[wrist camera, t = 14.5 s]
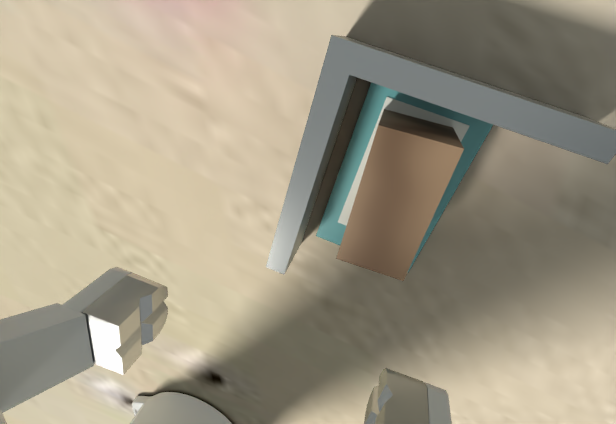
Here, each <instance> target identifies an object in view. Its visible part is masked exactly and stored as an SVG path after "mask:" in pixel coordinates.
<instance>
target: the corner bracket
mask: <svg viewBox="0 0 616 424" xmlns="http://www.w3.org/2000/svg"><path fill="white" fill-rule="evenodd" d="M357 78H360V79H363V80H366V81H369V82H371V85H370V88H369V90H368V93H367V96H366V99H365V101H364V104H363V107H362V110H361V112H360V115H359V118H358V121H357V124H356V126H355V129H354V132H353V135H352V137H351V140H350V143H349V146H348V148H347V151H346V154H345V157H344V160H343V162H342V165H341V168H340V171H339V173H338V176H337V179H336V182H335V184H334V187H333V190H332V193H331V196H330V198H329V201H328V204H327V207H326V209H325V212H324V215H323V218H322V220H321V223H320V226H319V229H318V232H317V234H316V236H318V237H320V238H323V239H325V240H328V241H330V242H333V243H335V244H338V245H341V242H342V239H343V235H344V232H345V229H346V226H347V223H348V220H349V216H350V213H351V210H352V207H353V204H354V200H355V197H356V194H357V191H358V188H359V185H360V181H361V178H362V175H363V172H364V169H365V165H366V162H367V159H368V156H369V153H370V150H371V146H372V143H373V140H374V137H375V134H376V130H377V127H378V124H379V122H380V119H381V116H382V114H383V111H384V109H386V110H390V111H394V112H397V113H401V114H405V115H409V116H412V117H416V118H420V119H423V120H427V121H431V122H435V123H438V124H442V125H446V126H449V127H453V128H454V130H455V132H456V134H457V136H458V138H459V140H460V142H461V144H462V146H463V147H464V150H463V153H462V155H461V157H460V159H459V161H458V163H457V166H456V168H455V170H454V172H453V174H452V177H451V179H450V181H449V183H448V185H447V187H446V190H445V192H444V194H443V196H442V198H441V200H440V203H439V205H438V207H437V209H436V211H435V213H434V216H433V218H432V220H431V222H430V224H429V227H428V229H427V231H426V233H425V235H424V237H423V240H422V242H421V244H420V246H419V248H418V250H417V253H416V255H415V257H414V259H413V261H412V263H411V266H410V268H409V270H410V269H411V267H412V265H413V263H414V262H415V260H416V258H417V257H418V255H419V253H420V251H421V250H422V248H423V246H424V244H425V243H426V241H427V239H428V237H429V236H430V234H431V232H432V230H433V229H434V227H435V225H436V223H437V222H438V220H439V218H440V217H441V215H442V213H443V211H444V210H445V208H446V206H447V204H448V203H449V201H450V199H451V197H452V196H453V194H454V192H455V190H456V189H457V187H458V185H459V184H460V182H461V180H462V178H463V177H464V175H465V173H466V171H467V170H468V168H469V166H470V164H471V163H472V161H473V159H474V157H475V156H476V154H477V152H478V151H479V149H480V147H481V145H482V144H483V142H484V140H485V138H486V137H487V135H488V133H489V131H490V130H491V128H492V126H493V125H496V126H499V127H502V128H505V129H507V130H510V131H513V132H516V133H519V134H522V135H525V136H528V137H531V138H533V139H536V140H539V141H542V142H545V143H548V144H551V145H554V146H557V147H559V148H562V149H565V150H568V151H571V152H574V153H577V154H580V155H582V156H585V157H588V158H591V159H594V160H597V161H600V162H603V163H606V164H608V163H609V162H610V160H611V159H612V158H613V157H614V155H615V154H616V129H614V128H611V127H609V126H606V125H604V124H602V123H599V122H597V121H594V120H592V119H590V118H587V117H584V116H581V115H578V114H575V113H572V112H569V111H566V110H563V109H561V108H558V107H555V106H552V105H549V104H546V103H543V102H540V101H537V100H534V99H531V98H528V97H525V96H522V95H519V94H516V93H513V92H510V91H507V90H504V89H501V88H498V87H495V86H492V85H489V84H486V83H483V82H480V81H477V80H474V79H471V78H468V77H465V76H462V75H459V74H456V73H453V72H450V71H447V70H444V69H441V68H438V67H435V66H432V65H429V64H426V63H423V62H420V61H417V60H414V59H411V58H408V57H405V56H402V55H399V54H396V53H393V52H390V51H387V50H384V49H382V48H379V47H376V46H373V45H370V44H367V43H364V42H361V41H358V40H355V39H352V38H349V37H345V36H336V35H331V39H330V42H329V46H328V49H327V53H326V56H325V60H324V63H323V67H322V70H321V74H320V78H319V81H318V85H317V88H316V92H315V95H314V99H313V102H312V106H311V109H310V113H309V116H308V120H307V123H306V127H305V131H304V134H303V138H302V141H301V145H300V148H299V152H298V155H297V159H296V162H295V166H294V169H293V173H292V177H291V180H290V184H289V187H288V191H287V194H286V198H285V201H284V205H283V208H282V212H281V215H280V219H279V222H278V226H277V230H276V233H275V237H274V240H273V244H272V247H271V251H270V254H269V258H268V261H267V265H266V267H267V268H269V269H272V270H274V271H277V272H279V273H281V274H285V272H286V271H287V269H288V267H289V265H290V263H291V261H292V259H293V258H294V256H295V254H296V252H297V250H298V248H299V246H300V245H301V242H302V239H303V236H304V233H305V230H306V227H307V224H308V221H309V219H310V216H311V213H312V210H313V207H314V204H315V201H316V198H317V195H318V192H319V189H320V186H321V183H322V180H323V177H324V174H325V171H326V168H327V165H328V162H329V159H330V156H331V153H332V150H333V147H334V144H335V142H336V139H337V136H338V133H339V130H340V127H341V124H342V121H343V118H344V115H345V112H346V109H347V106H348V103H349V100H350V97H351V94H352V91H353V88H354V85H355V82H356V79H357ZM409 270H408V272H409Z"/></svg>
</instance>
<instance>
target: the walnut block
mask: <svg viewBox="0 0 616 424" xmlns="http://www.w3.org/2000/svg"><path fill="white" fill-rule="evenodd" d="M463 150H464V147H463V146H462V144H461V142H460V140H459V138H458V136H457V134H456V132H455V130H454V128H453V127H449V126H446V125H442V124H438V123H435V122H431V121H427V120H423V119H420V118H416V117H412V116H409V115H405V114H401V113H397V112H394V111H390V110H386V109H384V111H383V114H382V116H381V119H380V122H379V124H378V127H377V130H376V134H375V137H374V140H373V143H372V146H371V150H370V153H369V156H368V159H367V162H366V165H365V169H364V172H363V175H362V178H361V181H360V185H359V188H358V191H357V194H356V197H355V200H354V204H353V207H352V210H351V213H350V216H349V220H348V223H347V226H346V229H345V232H344V235H343V239H342V242H341V245H340V248H339V251H338V255H337V258H336V259H339V260H342V261H345V262H348V263H351V264H354V265H357V266H360V267H363V268H366V269H369V270H372V271H375V272H378V273H381V274H384V275H387V276H390V277H393V278H396V279H399V280H402V281H404V279H405V276H406V274H407V272H408V270H409V268H410V266H411V263H412V261H413V259H414V257H415V255H416V253H417V250H418V248H419V246H420V244H421V242H422V240H423V237H424V235H425V233H426V231H427V229H428V227H429V224H430V222H431V220H432V218H433V216H434V213H435V211H436V209H437V207H438V205H439V203H440V200H441V198H442V196H443V194H444V192H445V190H446V187H447V185H448V183H449V181H450V179H451V177H452V174H453V172H454V170H455V168H456V166H457V163H458V161H459V159H460V157H461V155H462V153H463Z"/></svg>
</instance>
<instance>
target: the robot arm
mask: <svg viewBox="0 0 616 424" xmlns="http://www.w3.org/2000/svg"><path fill="white" fill-rule="evenodd" d="M167 297H168V289H167V287H166V286H164V285H161V284H159V283H156V282H154V281H152V280H149V279H147V278H144V277H142V276H139V275H137V274H134V273H132V272H129V271H127V270H124V269H121V268H119V267H115V268H112V269H109V270H108V271H107V272H105V273H104V274H103V275H101V276H100V277H99V278H97V279H96V280H95V281H93V282H92V283H91V284H89V285H88V286H87V287H85V288H84V289H83V290H81V291H80V292H79V293H77V294H76V295H75V296H73V297H72V298H71V299H69V300H68V301H67V302H65V303H64V304H63V305H61V304H58V303H56V304H53V305H49V306H46V307H42V308H39V309H35V310H32V311H28V312H25V313H21V314H18V315H15V316H11V317H8V318H4V319H1V320H0V424H7V423H6V421H5V418H4V416H3V414H2V413H3V412H5V411H7V410H9V409H11V408H13V407H15V406H16V405H18V404H20V403H22V402H24V401H26V400H28V399H30V398H32V397H34V396H36V395H38V394H40V393H42V392H44V391H46V390H48V389H49V388H51V387H53V386H55V385H57V384H59V383H61V382H63V381H65V380H67V379H69V378H71V377H73V376H75V375H77V374H79V373H81V372H82V371H84V370H86V369H88V368H90V367H92V366H93V365H94V364H96V365H99V366H101V367H104V368H107V369H109V370H112V371H114V372H117V373H120V374H122V375H124V374H125V373H126V372H127V370H128V369H129V368H130V367H131V366H132V365H133V363H134V362H135V361H136V360H137V359H138V358H139V357H140V355H141V354H142V345H144V344H146V343H149V342H151V341H153V340H154V339H155V338H156V337H157V335H158V334H159V333H160V331H161V330H162V328H163V326H164V324H165V322H166V319H167V315H168V307H167V306H166V304H165V303H164V300H165V299H166V298H167ZM93 363H94V364H93ZM132 408H133V412H134V415H135V417H134V418H133V420H132V421H131V423H130V424H232V423H231V422H230V421H229V420H228V419H227V418H226V417H225V416H224V415H223V414H221V413H220V412H219V411H218V410H216V409H215V408H213V407H212V406H210V405H208V404H207V403H205V402H203V401H201V400H199V399H197V398H194V397H192V396H189V395H185V394H182V393H176V392H163V393H159V394H156V395H154V396H137V397H136V398H135V400H134V401H133V403H132ZM364 424H452V421H451V413H450V405H449V397H448V394H447V392H446V390H444V389H441V388H438V387H435V386H433V385H430V384H427V383H424V382H423V381H420V380H418V379H415V378H412V377H409V376H406V375H404V374H401V373H398V372H395V371H393V370H390V369H387V368H385V369H384V370H383V371H382V373H381V375H380V376H379V386H376V387H374V388H373V390H372V392H371V395H370V398H369V401H368V404H367V408H366V413H365V421H364Z"/></svg>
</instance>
